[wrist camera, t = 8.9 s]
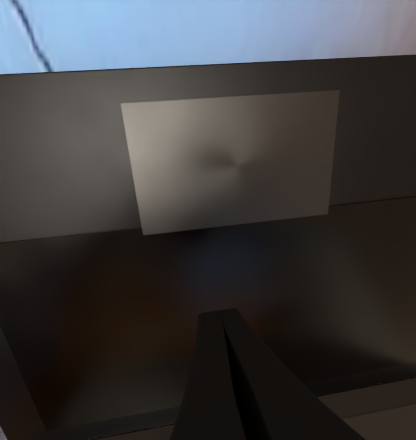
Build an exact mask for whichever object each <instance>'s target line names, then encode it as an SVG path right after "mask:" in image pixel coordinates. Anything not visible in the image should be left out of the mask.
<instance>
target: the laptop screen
mask: <svg viewBox="0 0 416 440" xmlns="http://www.w3.org/2000/svg"><path fill="white" fill-rule="evenodd" d="M316 397H317V398H319V399H320V400H321V401H322V402H323V403H324V404H325V405H326V406H327V407H329V408H330V409H331V410H332V411H333V412H334V413H335V414H336V415H338V416H339V417H340V418H341V419H342V420H343V421H345V422H346V423H347V424H348V425H349V426H351V427H352V428H353V429H354V430H355V431H356V432H358V433H359V434H360V435H361V436H362V437H364V438H365V439H366V440H416V377H413V378H407V379H402V380H397V381H392V382H387V383H381V384H376V385H371V386H366V387H361V388H355V389H350V390H345V391H340V392H335V393H329V394H324V395H319V396H316ZM174 425H175V423H173V424H168V425H163V426H158V427H153V428H147V429H142V430H137V431H132V432H127V433H121V434H116V435H111V436H106V437H101V438H95V439H90V440H170V437H171V434H172V431H173V428H174Z"/></svg>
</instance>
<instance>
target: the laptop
mask: <svg viewBox="0 0 416 440" xmlns="http://www.w3.org/2000/svg"><path fill="white" fill-rule="evenodd" d="M231 308H236V309H238V310H239V311H240V313H241V314H242V316H243V317H244V318H245V320H246V321H247V322H248V324H249V325H250V326H251V327H252V329H253V330H254V331H255V332H256V334H257V335H258V336H259V337H260V338H261V340H262V341H263V342H264V343H265V344H266V345H267V346H268V348H269V349H270V350H271V351H272V352H273V353H274V354H275V355H276V356H277V358H278V359H279V360H280V361H281V362H282V363H283V364H284V365H285V366H286V367H287V368H288V369H289V370H290V371H291V372H292V373H293V374H294V375H295V376H296V377H297V378H298V379H299V380H300V381H301V382H302V383H303V384H304V385H305V386H306V387H307V388H308V389H309V390H310V391H311V392H312V393H313V394H314V395H315V396H317V395H323V394H328V393H333V392H338V391H343V390H349V389H354V388H359V387H364V386H369V385H375V384H380V383H385V382H390V381H395V380H401V379H406V378H411V377H416V55H398V56H377V57H356V58H335V59H314V60H293V61H272V62H251V63H230V64H209V65H189V66H168V67H147V68H126V69H105V70H84V71H63V72H42V73H21V74H0V426H1V428H2V430H3V432H4V434H5V436H6V438H7V440H88V439H94V438H99V437H104V436H109V435H114V434H120V433H125V432H130V431H135V430H140V429H146V428H151V427H156V426H161V425H166V424H172V423H175V422H176V419H177V416H178V413H179V409H180V406H181V403H182V399H183V396H184V392H185V388H186V385H187V381H188V377H189V373H190V369H191V364H192V360H193V355H194V350H195V344H196V337H197V326H198V320H197V316H198V315H199V314H200V313H204V312H211V311H217V310H224V309H231Z"/></svg>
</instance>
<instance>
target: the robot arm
mask: <svg viewBox="0 0 416 440" xmlns="http://www.w3.org/2000/svg"><path fill="white" fill-rule="evenodd" d="M197 320H198V326H197V337H196V344H195V350H194V355H193V360H192V364H191V369H190V373H189V377H188V381H187V385H186V388H185V392H184V396H183V399H182V403H181V406H180V409H179V413H178V416H177V419H176V422H175V425H174V428H173V431H172V434H171V437H170V440H366V439H365V438H364V437H362V436H361V435H360V434H359V433H358V432H356V431H355V430H354V429H353V428H352V427H351V426H349V425H348V424H347V423H346V422H345V421H343V420H342V419H341V418H340V417H339V416H338V415H336V414H335V413H334V412H333V411H332V410H331V409H330V408H329V407H327V406H326V405H325V404H324V403H323V402H322V401H321V400H320V399H319V398H317V397H316V396H315V395H314V394H313V393H312V392H311V391H310V390H309V389H308V388H307V387H306V386H305V385H304V384H303V383H302V382H301V381H300V380H299V379H298V378H297V377H296V376H295V375H294V374H293V373H292V372H291V371H290V370H289V369H288V368H287V367H286V366H285V365H284V364H283V363H282V362H281V361H280V360H279V359H278V358H277V356H276V355H275V354H274V353H273V352H272V351H271V350H270V349H269V348H268V346H267V345H266V344H265V343H264V342H263V341H262V340H261V338H260V337H259V336H258V335H257V334H256V332H255V331H254V330H253V329H252V327H251V326H250V325H249V324H248V322H247V321H246V320H245V318H244V317H243V316H242V314H241V313H240V311H239V310H238V309H236V308H231V309H224V310H217V311H211V312H204V313H200V314H199V315H198V316H197Z"/></svg>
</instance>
